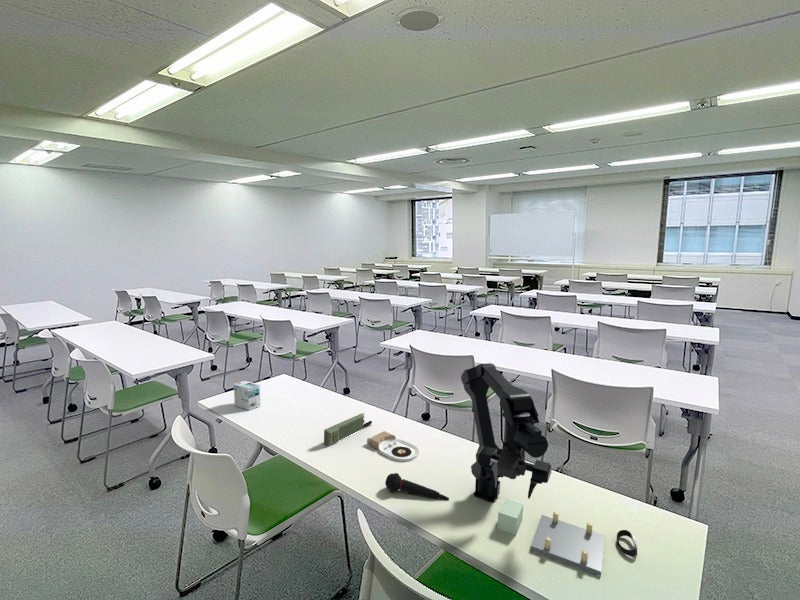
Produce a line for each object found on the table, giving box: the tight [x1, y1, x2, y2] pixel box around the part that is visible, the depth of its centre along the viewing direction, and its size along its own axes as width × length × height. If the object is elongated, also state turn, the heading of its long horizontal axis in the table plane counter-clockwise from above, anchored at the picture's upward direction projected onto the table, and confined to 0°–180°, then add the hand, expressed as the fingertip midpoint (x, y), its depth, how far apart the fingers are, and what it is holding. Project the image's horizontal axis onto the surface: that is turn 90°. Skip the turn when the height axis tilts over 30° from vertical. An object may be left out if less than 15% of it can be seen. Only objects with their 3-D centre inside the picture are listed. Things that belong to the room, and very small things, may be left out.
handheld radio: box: [323, 412, 373, 447], centre depth 164 cm, size 7×3×25 cm
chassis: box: [530, 511, 606, 577], centre depth 105 cm, size 16×14×4 cm
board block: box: [497, 497, 524, 536], centre depth 113 cm, size 5×7×5 cm
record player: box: [366, 430, 420, 462], centre depth 153 cm, size 12×3×20 cm
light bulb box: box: [233, 380, 261, 411], centre depth 190 cm, size 11×7×11 cm, turn 58°
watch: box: [616, 529, 639, 557], centre depth 105 cm, size 8×5×4 cm, turn 165°
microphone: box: [385, 472, 450, 501], centre depth 126 cm, size 6×6×20 cm
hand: (511, 492), depth 112 cm, fingers open, 9 cm apart
